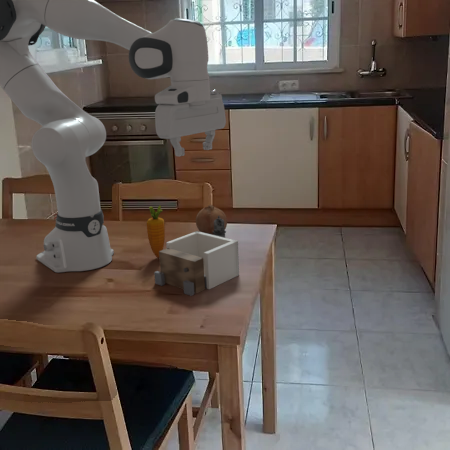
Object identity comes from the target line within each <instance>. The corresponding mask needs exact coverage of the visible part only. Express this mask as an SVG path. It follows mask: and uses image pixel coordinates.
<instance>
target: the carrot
mask: <svg viewBox="0 0 450 450" xmlns="http://www.w3.org/2000/svg"><path fill="white" fill-rule="evenodd" d="M161 208H162V205H158V207H157V210H156V211H155V208H154V207H153V206H149V207H148V209H149V212H150V216H151V217H150V218H148V220H147V221H146V232H147V238H148V242H149V245H150V246H149V247H150V249H151V251H152V253H153V255H154V256H155V257H156V258H157V259H159V251H161V250H164V247H165V238H166V231H165V230H166V227H165V220H164V218H162V217H159V216H160V214H161V213H162V212H163V209H161Z"/></svg>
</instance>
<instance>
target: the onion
mask: <svg viewBox="0 0 450 450" xmlns="http://www.w3.org/2000/svg"><path fill="white" fill-rule="evenodd" d="M218 216H220V218H221V219H223V220H224V227H225V230H226V228H227V227H228V226H227V224H228V219H227V215H226V214H225V212H224V211H223V210H222V209H220V208H218V207H217V206H214V205H212V204H209V205H208V206H205V207H203V208H202V209H201V210H199V212H198V213H197V215H196V217H195V225H196V228H197V231H199V232H203V233H207V234H211V235H214V233H213V231H214V221H215V220H216V219H217V218H218Z"/></svg>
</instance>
